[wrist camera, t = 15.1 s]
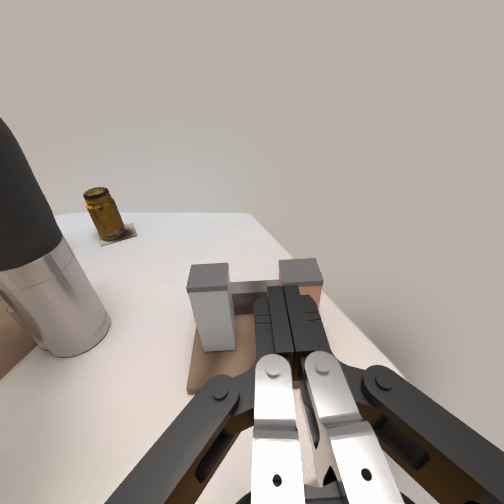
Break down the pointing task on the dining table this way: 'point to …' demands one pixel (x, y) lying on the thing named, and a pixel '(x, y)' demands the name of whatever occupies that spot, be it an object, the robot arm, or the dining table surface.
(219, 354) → the base
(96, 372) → the dining table surface
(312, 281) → the orange-brown tall block
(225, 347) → the grey tall block
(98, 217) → the condiment
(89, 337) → the robot arm
